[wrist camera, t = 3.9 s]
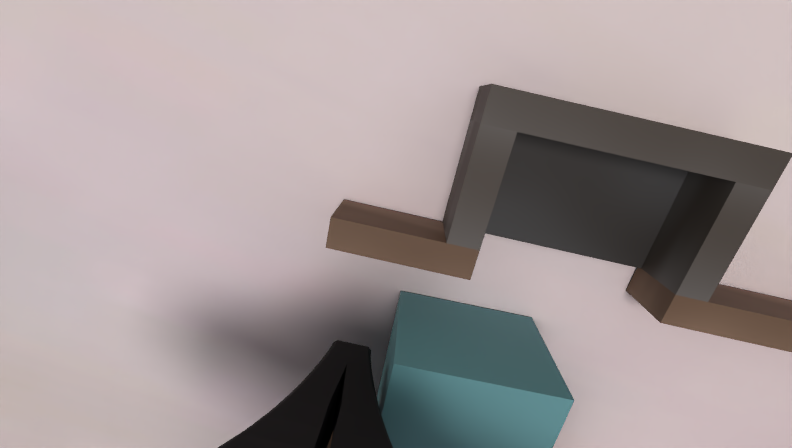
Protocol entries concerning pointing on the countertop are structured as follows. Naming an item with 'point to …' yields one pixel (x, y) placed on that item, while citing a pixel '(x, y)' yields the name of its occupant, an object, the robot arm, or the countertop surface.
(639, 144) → the trap channel
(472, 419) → the teal block
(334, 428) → the robot arm
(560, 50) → the countertop surface
